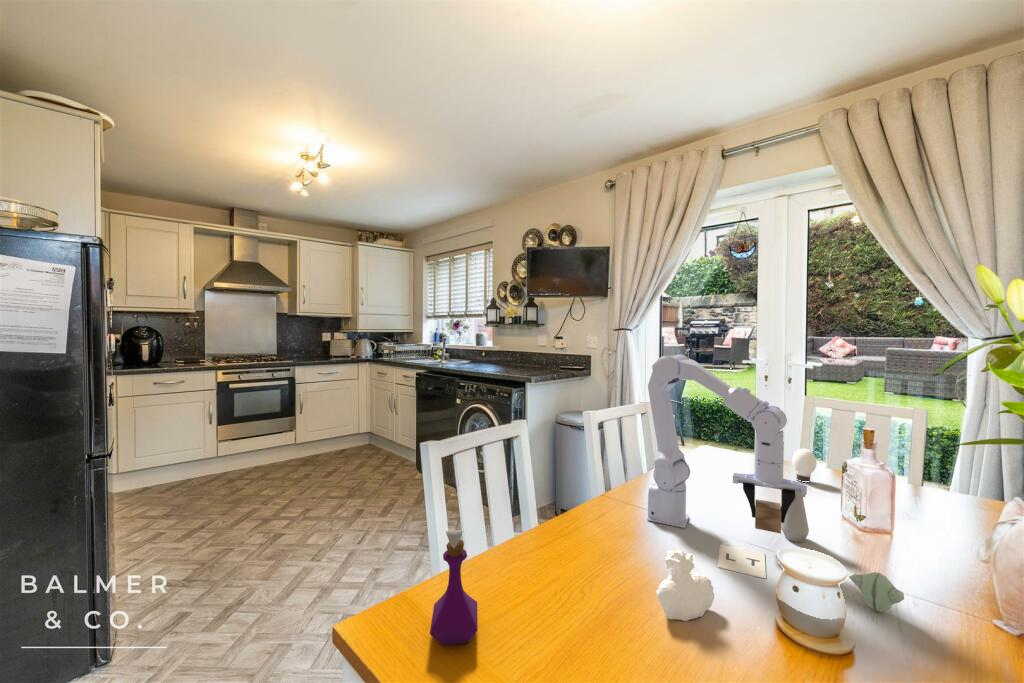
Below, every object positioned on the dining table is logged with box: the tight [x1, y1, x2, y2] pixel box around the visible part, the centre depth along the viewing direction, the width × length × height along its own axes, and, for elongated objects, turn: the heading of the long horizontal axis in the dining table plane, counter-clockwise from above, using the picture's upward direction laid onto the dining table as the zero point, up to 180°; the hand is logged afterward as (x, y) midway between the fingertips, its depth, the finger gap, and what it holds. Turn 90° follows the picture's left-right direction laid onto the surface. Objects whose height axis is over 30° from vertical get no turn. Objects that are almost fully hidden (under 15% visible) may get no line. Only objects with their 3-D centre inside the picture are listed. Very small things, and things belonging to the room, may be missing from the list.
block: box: [754, 498, 782, 535], centre depth 100 cm, size 5×5×5 cm
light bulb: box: [791, 448, 817, 482], centre depth 146 cm, size 7×7×11 cm
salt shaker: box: [781, 492, 810, 543], centre depth 106 cm, size 6×6×13 cm
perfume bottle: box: [429, 529, 479, 646], centre depth 72 cm, size 8×8×18 cm
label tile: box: [716, 543, 767, 580], centre depth 96 cm, size 9×11×1 cm
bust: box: [655, 548, 715, 622], centre depth 80 cm, size 12×8×11 cm
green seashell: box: [848, 571, 905, 613], centre depth 79 cm, size 8×4×7 cm, turn 34°
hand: (767, 518), depth 100 cm, fingers closed on block, 5 cm apart
